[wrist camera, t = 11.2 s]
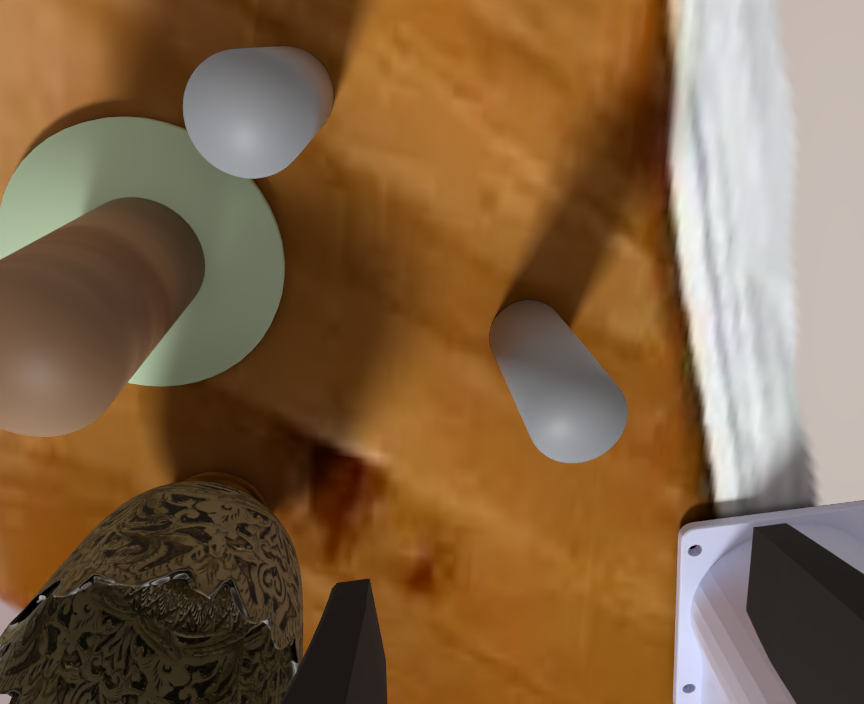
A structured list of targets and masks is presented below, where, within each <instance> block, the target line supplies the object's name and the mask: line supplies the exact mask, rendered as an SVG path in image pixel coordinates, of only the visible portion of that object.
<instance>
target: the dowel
mask: <svg viewBox="0 0 864 704" xmlns="http://www.w3.org/2000/svg"><path fill="white" fill-rule="evenodd" d="M204 275H205V258H204V253H203V249H202V246H201V243H200V241H199V239H198V237H197V235H196V234H195V232H194V230H193V229H192V228H191V226H190V225H189V224H188V223H187V222H186V221H185V220H184V219H183V218H182V217H181V216H180V215H179V214H177V213H176V212H175V211H174V210H172V209H170V208H169V207H167V206H165V205H163V204H161V203H159V202H156V201H153V200H150V199H145V198H138V197H125V198H119V199H114V200H111V201H109V202H106V203H104V204H102V205H101V206H99V207H97V208H95V209H93V210H91V211H89V212H88V213H86V214H84V215H82V216H80V217H78V218H76V219H75V220H73V221H71V222H69V223H67V224H65V225H64V226H62V227H60V228H58V229H56V230H54V231H52V232H51V233H49V234H47V235H45V236H43V237H41V238H39V239H38V240H36V241H34V242H32V243H30V244H28V245H27V246H25V247H23V248H21V249H19V250H17V251H15V252H14V253H12V254H10V255H8V256H6V257H4V258H2V259H1V260H0V428H1V429H3V430H6V431H9V432H13V433H17V434H21V435H27V436H36V437H49V436H59V435H64V434H68V433H72V432H75V431H78V430H80V429H82V428H84V427H86V426H88V425H89V424H91V423H92V422H94V421H95V420H97V419H98V418H99V417H100V416H101V415H102V414H103V413H104V412H105V411H106V409H107V408H108V407H109V406H110V404H111V403H112V402H113V401H114V399H115V398H116V397H117V396H118V394H119V393H120V392H121V390H122V389H123V388H124V387H125V385H126V384H127V383H128V382H129V380H130V379H131V378H132V376H133V375H134V374H135V373H136V371H137V370H138V369H139V368H140V366H141V365H142V364H143V363H144V361H145V360H146V359H147V357H148V356H149V355H150V354H151V352H152V351H153V350H154V349H155V347H156V346H157V345H158V343H159V342H160V341H161V340H162V338H163V337H164V336H165V335H166V333H167V332H168V331H169V330H170V328H171V327H172V326H173V324H174V323H175V322H176V321H177V319H178V318H179V317H180V316H181V314H182V313H183V312H184V310H185V309H186V308H187V307H188V305H189V304H190V303H191V302H192V300H193V299H194V298H195V297H196V295H197V293H198V292H199V290H200V288H201V286H202V283H203V279H204Z"/></svg>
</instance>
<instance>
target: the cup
mask: <svg viewBox="0 0 864 704" xmlns="http://www.w3.org/2000/svg"><path fill="white" fill-rule="evenodd" d="M0 645H1V646H0V694H8V695H10V696H11V697H12V698H11V701H10V703H9V704H279V703H280V702H281V700H282V698H283V696H284V695H285V693H286V691H287V689H288V687H289V685H290V684H291V682H292V680H293V678H294V676H295V674H296V672H297V670H298V668H299V665H300V663H301V661H302V659H303V594H302V583H301V574H300V567H299V563H298V559H297V555H296V551H295V548H294V546H293V543H292V541H291V539H290V537H289V535H288V533H287V532H286V530H285V528H284V526H283V525H282V524H281V522H280V521H279V520H278V519H277V518H276V516H275V515H274V514H273V513H272V512H271V511H270V510H269V509H268V507H267V505H266V503H265V501H264V499H263V497H262V495H261V494H260V493H259V491H258V490H257V489H256V488H255V487H254V486H252V485H251V484H250V483H249V482H247V481H246V480H244V479H242V478H240V477H238V476H235V475H232V474H228V473H222V472H207V473H201V474H198V475H195V476H192V477H190V478H188V479H186V480H184V481H182V482H180V483H173V484H167V485H163V486H159V487H157V488H154V489H151V490H149V491H146V492H144V493H142V494H140V495H138V496H136V497H134V498H132V499H130V500H129V501H127V502H126V503H124V504H123V505H121V506H120V507H119V508H117V509H116V510H115V511H114V512H112V513H111V514H110V515H109V516H107V517H106V518H105V519H104V520H103V521H102V522H101V523H100V524H99V525H98V526H97V527H96V528H95V529H94V530H93V531H92V532H91V533H90V534H89V535H88V536H87V537H86V538H85V539H84V540H83V542H82V543H81V544H80V545H79V546H78V547H77V548H76V549H75V550H74V551H73V553H72V554H71V555H70V556H69V557H68V558H67V559H66V561H65V562H64V563H63V564H62V565H61V566H60V568H59V569H58V570H57V571H56V572H55V573H54V574H53V576H52V577H51V578H50V579H49V580H48V582H47V583H46V584H45V585H44V586H43V587H42V589H41V590H40V591H39V592H38V593H37V594H36V596H35V597H34V598H33V599H32V600H31V602H30V603H29V604H28V605H27V606H26V607H25V609H24V610H23V611H22V612H21V613H20V614H19V615H18V616H17V617H16V618H15V619H14V620H13V621H12V622H11V623H10V624H9V625H8V626H7V628H6V629H5V631H4V632H3V634H2V635H1V637H0Z"/></svg>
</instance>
